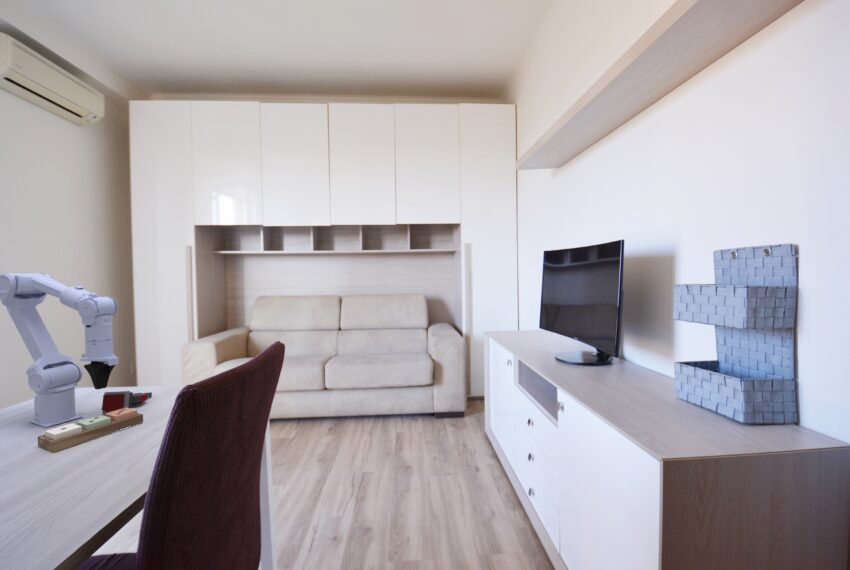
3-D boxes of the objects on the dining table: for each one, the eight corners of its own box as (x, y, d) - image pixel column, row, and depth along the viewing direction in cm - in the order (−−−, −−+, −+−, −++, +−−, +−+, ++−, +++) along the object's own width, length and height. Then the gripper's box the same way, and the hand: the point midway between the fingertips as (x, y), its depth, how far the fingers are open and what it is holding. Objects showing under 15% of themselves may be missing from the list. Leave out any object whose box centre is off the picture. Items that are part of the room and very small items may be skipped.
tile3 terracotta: (105, 425, 98) (104, 413, 98) (126, 419, 103) (126, 407, 103) (115, 428, 96) (115, 416, 96) (136, 421, 101) (136, 409, 101)
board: (37, 446, 87) (37, 436, 87) (126, 418, 104) (126, 410, 104) (54, 452, 84) (53, 442, 84) (143, 422, 101) (142, 414, 101)
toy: (128, 406, 121) (94, 415, 106) (130, 387, 122) (96, 393, 107) (156, 405, 122) (126, 413, 107) (158, 386, 123) (128, 391, 109)
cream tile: (45, 444, 88) (44, 430, 87) (72, 436, 92) (71, 422, 92) (55, 448, 85) (54, 434, 85) (82, 439, 90) (81, 426, 90)
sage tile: (77, 434, 93) (76, 421, 93) (100, 427, 98) (100, 414, 97) (87, 438, 91) (86, 424, 91) (111, 430, 96) (110, 417, 95)
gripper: (67, 340, 100) (68, 389, 100) (95, 344, 94) (97, 396, 94) (98, 336, 106) (100, 382, 106) (126, 339, 100) (128, 388, 101)
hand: (100, 388), depth 101 cm, fingers closed
